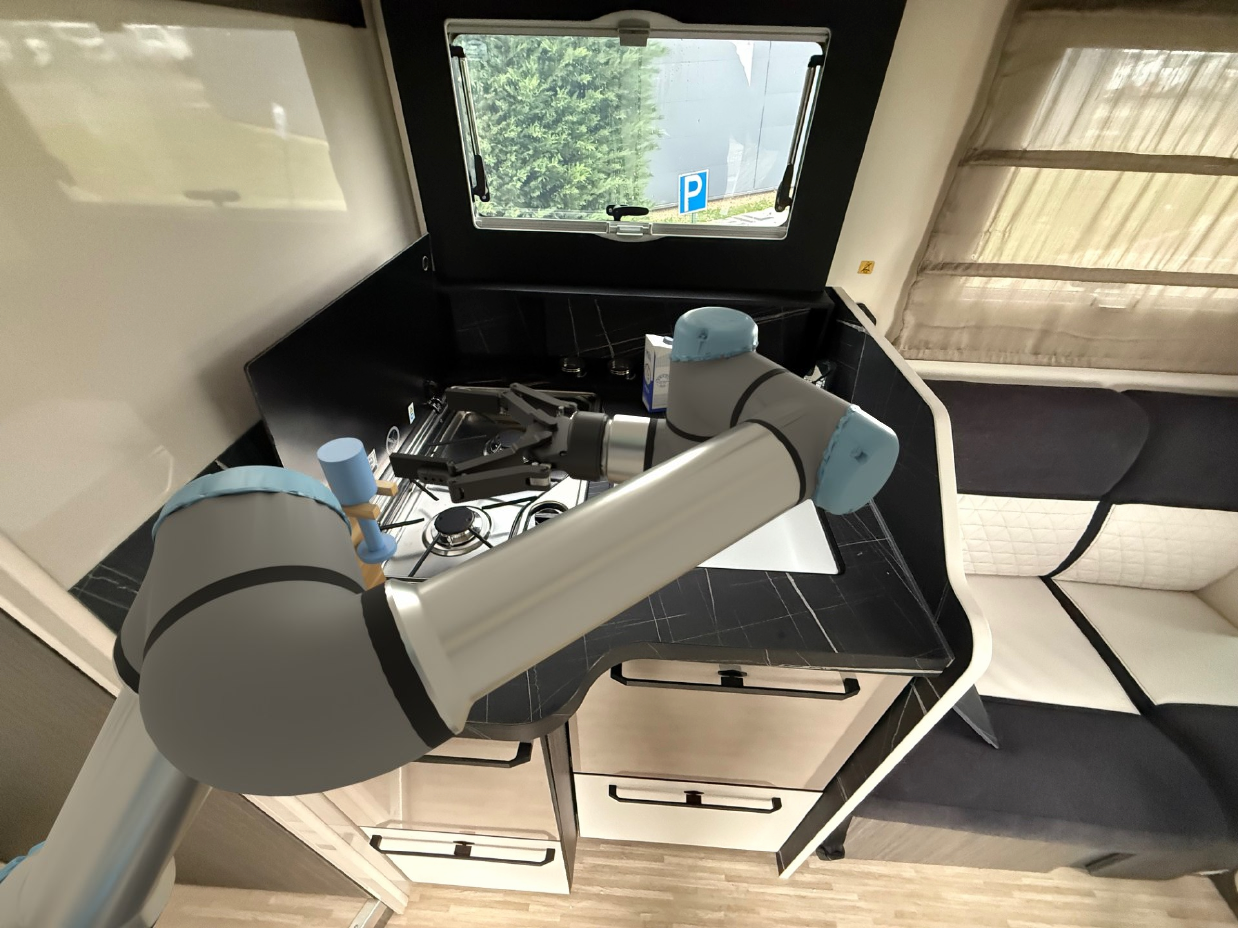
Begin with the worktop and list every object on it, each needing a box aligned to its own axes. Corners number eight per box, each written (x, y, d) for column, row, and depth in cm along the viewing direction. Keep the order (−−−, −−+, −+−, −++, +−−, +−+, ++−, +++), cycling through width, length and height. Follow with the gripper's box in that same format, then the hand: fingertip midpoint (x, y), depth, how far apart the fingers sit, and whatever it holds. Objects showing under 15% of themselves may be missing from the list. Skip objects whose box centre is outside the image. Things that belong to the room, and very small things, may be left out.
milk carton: (642, 400, 147) (645, 333, 135) (664, 397, 149) (670, 331, 137) (649, 412, 142) (653, 344, 130) (672, 410, 143) (679, 342, 131)
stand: (442, 610, 90) (401, 474, 71) (418, 658, 82) (365, 520, 64) (390, 602, 91) (336, 467, 72) (361, 649, 83) (294, 511, 65)
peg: (368, 570, 72) (326, 467, 61) (352, 550, 75) (309, 449, 64) (404, 551, 75) (370, 449, 64) (387, 532, 78) (352, 432, 67)
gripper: (584, 556, 49) (374, 529, 51) (623, 417, 69) (470, 402, 71) (583, 496, 44) (352, 469, 47) (625, 365, 64) (460, 351, 66)
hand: (422, 428), depth 59 cm, fingers open, 13 cm apart
